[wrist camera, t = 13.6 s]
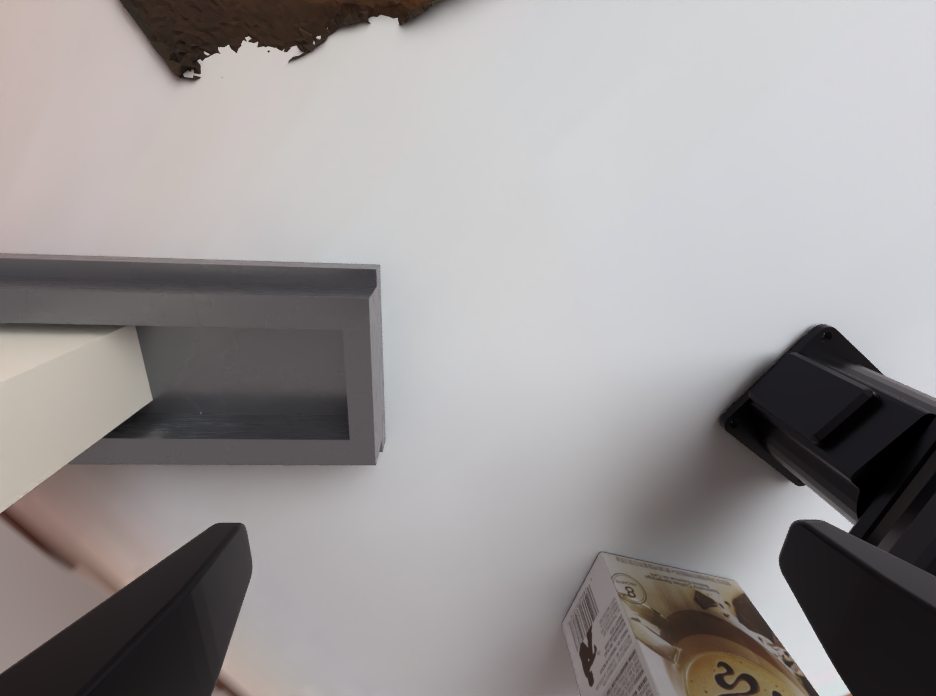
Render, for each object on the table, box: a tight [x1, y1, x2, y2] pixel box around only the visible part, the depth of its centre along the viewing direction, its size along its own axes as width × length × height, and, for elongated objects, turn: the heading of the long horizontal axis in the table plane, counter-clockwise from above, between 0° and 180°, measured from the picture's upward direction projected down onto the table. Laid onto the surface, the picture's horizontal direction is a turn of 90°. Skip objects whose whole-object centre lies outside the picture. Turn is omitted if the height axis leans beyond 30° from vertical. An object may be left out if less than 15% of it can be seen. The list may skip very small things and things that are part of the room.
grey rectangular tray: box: [0, 253, 385, 465], centre depth 18 cm, size 16×8×3 cm, turn 88°
